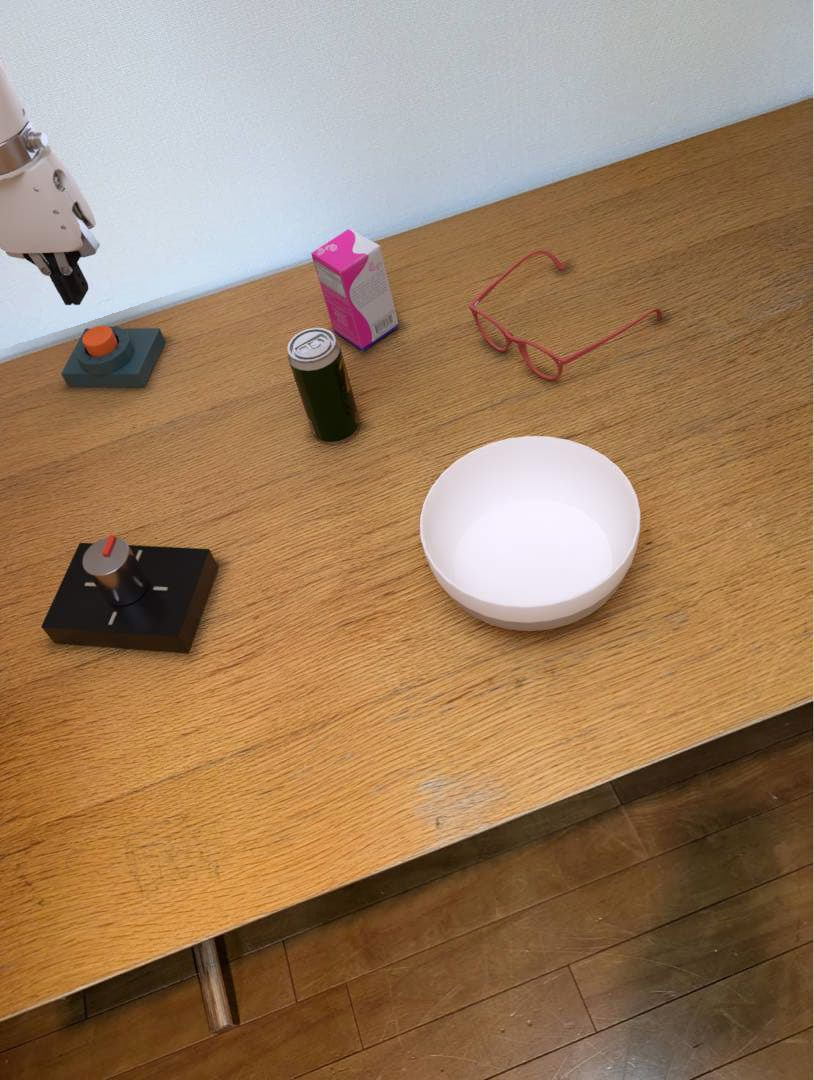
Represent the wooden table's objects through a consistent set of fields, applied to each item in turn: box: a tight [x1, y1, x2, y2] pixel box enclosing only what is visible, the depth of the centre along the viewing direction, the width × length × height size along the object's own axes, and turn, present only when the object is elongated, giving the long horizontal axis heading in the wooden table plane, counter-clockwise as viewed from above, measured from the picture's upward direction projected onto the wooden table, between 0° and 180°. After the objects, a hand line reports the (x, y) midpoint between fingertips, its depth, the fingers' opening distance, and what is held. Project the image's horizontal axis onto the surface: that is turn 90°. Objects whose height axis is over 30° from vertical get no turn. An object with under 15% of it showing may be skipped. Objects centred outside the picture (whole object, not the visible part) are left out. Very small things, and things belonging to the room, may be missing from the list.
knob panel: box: [40, 542, 219, 654], centre depth 95 cm, size 14×10×3 cm
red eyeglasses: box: [468, 249, 663, 381], centre depth 109 cm, size 17×16×5 cm
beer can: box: [286, 327, 361, 446], centre depth 103 cm, size 5×5×12 cm
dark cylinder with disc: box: [83, 534, 148, 606], centre depth 92 cm, size 4×4×5 cm
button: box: [82, 324, 118, 357], centre depth 116 cm, size 4×4×2 cm
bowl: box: [419, 435, 642, 632], centre depth 88 cm, size 19×19×9 cm
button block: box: [60, 325, 167, 388], centre depth 118 cm, size 10×8×4 cm
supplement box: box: [310, 228, 400, 353], centre depth 112 cm, size 6×6×12 cm
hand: (77, 296), depth 111 cm, fingers closed
